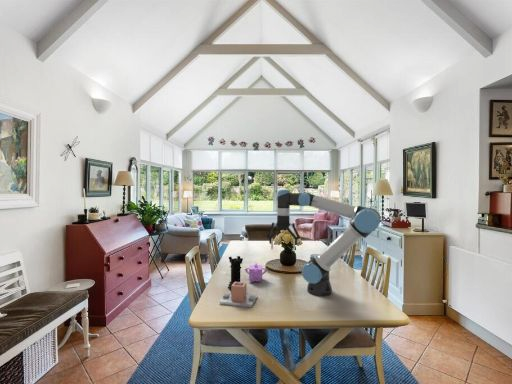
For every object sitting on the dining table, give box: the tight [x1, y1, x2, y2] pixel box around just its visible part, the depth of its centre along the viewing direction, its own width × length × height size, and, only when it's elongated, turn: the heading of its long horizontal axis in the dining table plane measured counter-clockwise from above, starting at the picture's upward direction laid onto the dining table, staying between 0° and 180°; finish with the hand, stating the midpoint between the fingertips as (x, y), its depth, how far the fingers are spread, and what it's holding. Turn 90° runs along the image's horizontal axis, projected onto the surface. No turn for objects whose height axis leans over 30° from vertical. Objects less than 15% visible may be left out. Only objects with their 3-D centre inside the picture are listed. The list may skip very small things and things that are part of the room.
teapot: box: [244, 262, 268, 283], centre depth 195 cm, size 15×13×11 cm
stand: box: [219, 283, 258, 308], centre depth 160 cm, size 18×14×10 cm
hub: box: [230, 281, 247, 301], centre depth 160 cm, size 7×7×8 cm
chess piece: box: [227, 255, 244, 292], centre depth 178 cm, size 8×8×20 cm
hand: (283, 249), depth 172 cm, fingers open, 13 cm apart
